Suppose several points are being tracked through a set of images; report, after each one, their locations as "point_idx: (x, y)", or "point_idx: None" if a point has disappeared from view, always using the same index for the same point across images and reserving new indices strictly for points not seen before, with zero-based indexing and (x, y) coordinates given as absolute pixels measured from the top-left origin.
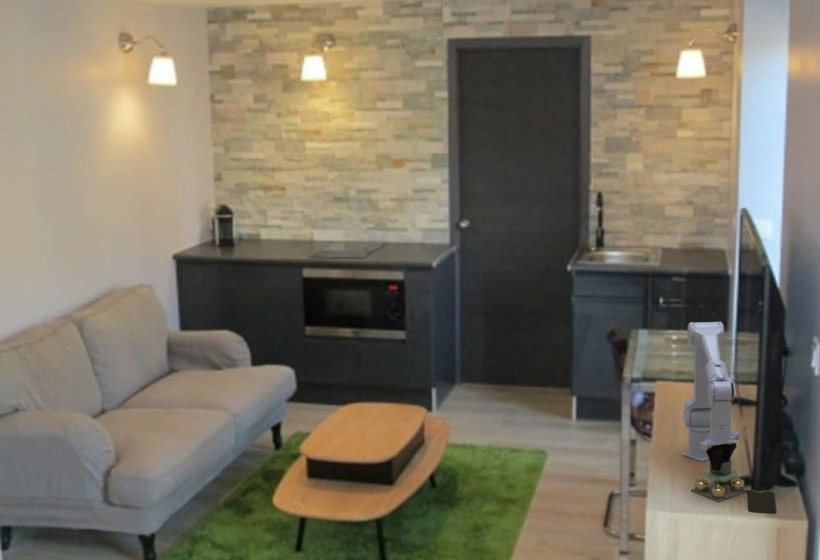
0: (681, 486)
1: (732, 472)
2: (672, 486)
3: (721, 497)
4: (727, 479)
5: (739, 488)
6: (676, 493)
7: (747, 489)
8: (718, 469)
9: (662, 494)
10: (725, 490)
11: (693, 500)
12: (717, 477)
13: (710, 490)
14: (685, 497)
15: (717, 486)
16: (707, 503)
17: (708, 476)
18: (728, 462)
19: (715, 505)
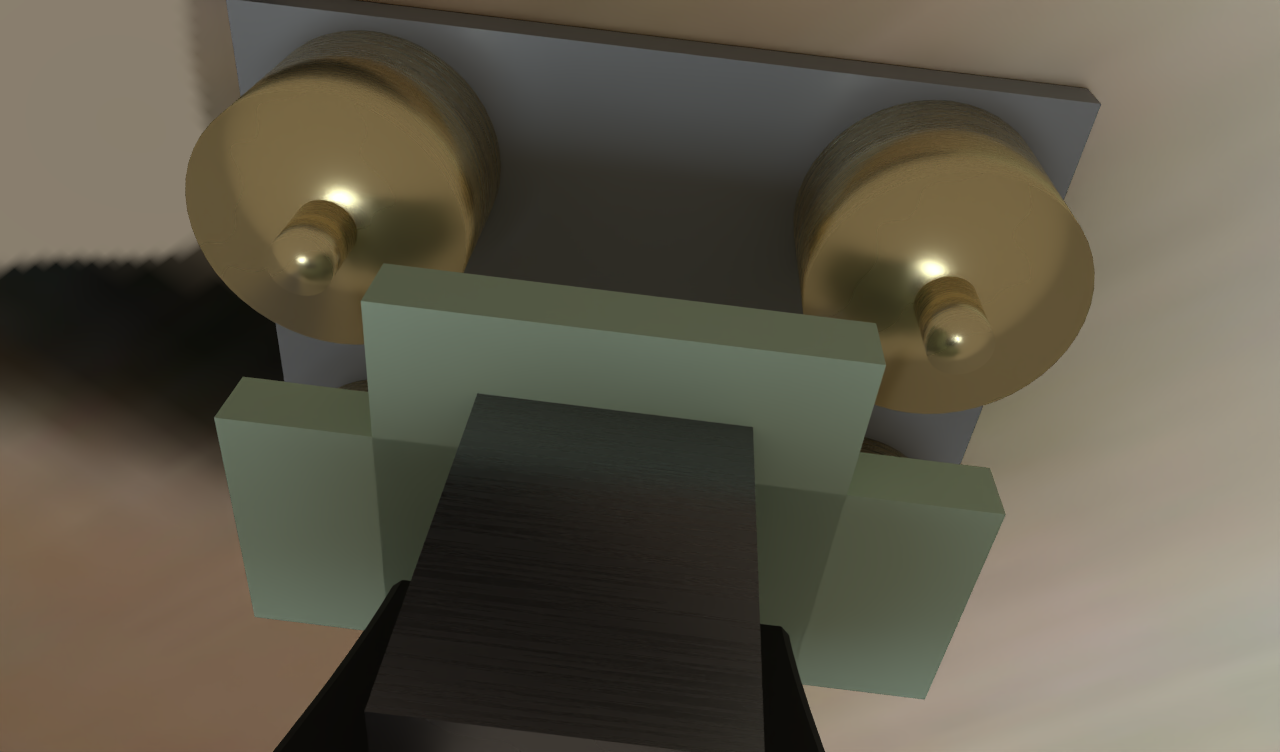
0: (829, 691)
1: (342, 422)
2: (897, 742)
3: (1000, 122)
4: (728, 315)
5: (423, 83)
6: (1081, 645)
7: (229, 3)
8: (774, 656)
9: (1205, 720)
10: (595, 263)
11: (1217, 415)
12: (879, 496)
13: None
14: (1158, 530)
15: (991, 329)
16: (1238, 209)
17: (950, 627)
18: (529, 705)
19: (1268, 53)
